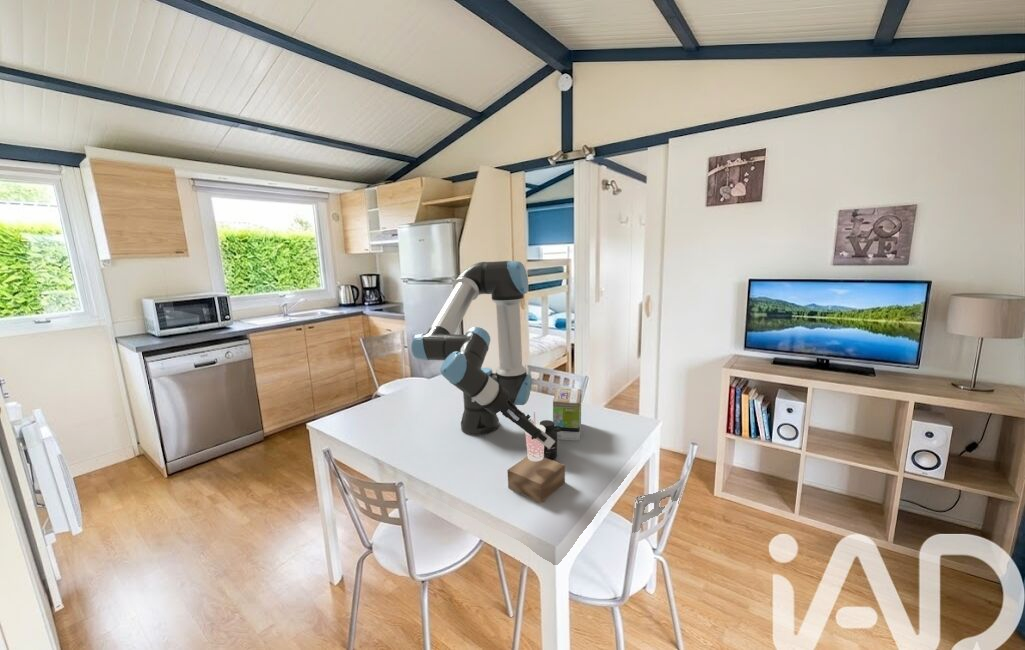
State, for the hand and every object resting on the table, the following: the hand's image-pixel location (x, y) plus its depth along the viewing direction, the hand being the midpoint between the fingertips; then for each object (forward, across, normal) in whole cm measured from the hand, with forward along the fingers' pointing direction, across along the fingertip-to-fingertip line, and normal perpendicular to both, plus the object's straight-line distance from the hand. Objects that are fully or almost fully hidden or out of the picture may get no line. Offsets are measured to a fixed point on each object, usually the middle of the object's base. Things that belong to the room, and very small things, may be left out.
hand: (546, 439), depth 115 cm
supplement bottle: (+14, -14, -6) cm, 21 cm away
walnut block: (+8, 0, -13) cm, 15 cm away
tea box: (+25, -28, +4) cm, 37 cm away
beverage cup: (+1, 0, -6) cm, 6 cm away
